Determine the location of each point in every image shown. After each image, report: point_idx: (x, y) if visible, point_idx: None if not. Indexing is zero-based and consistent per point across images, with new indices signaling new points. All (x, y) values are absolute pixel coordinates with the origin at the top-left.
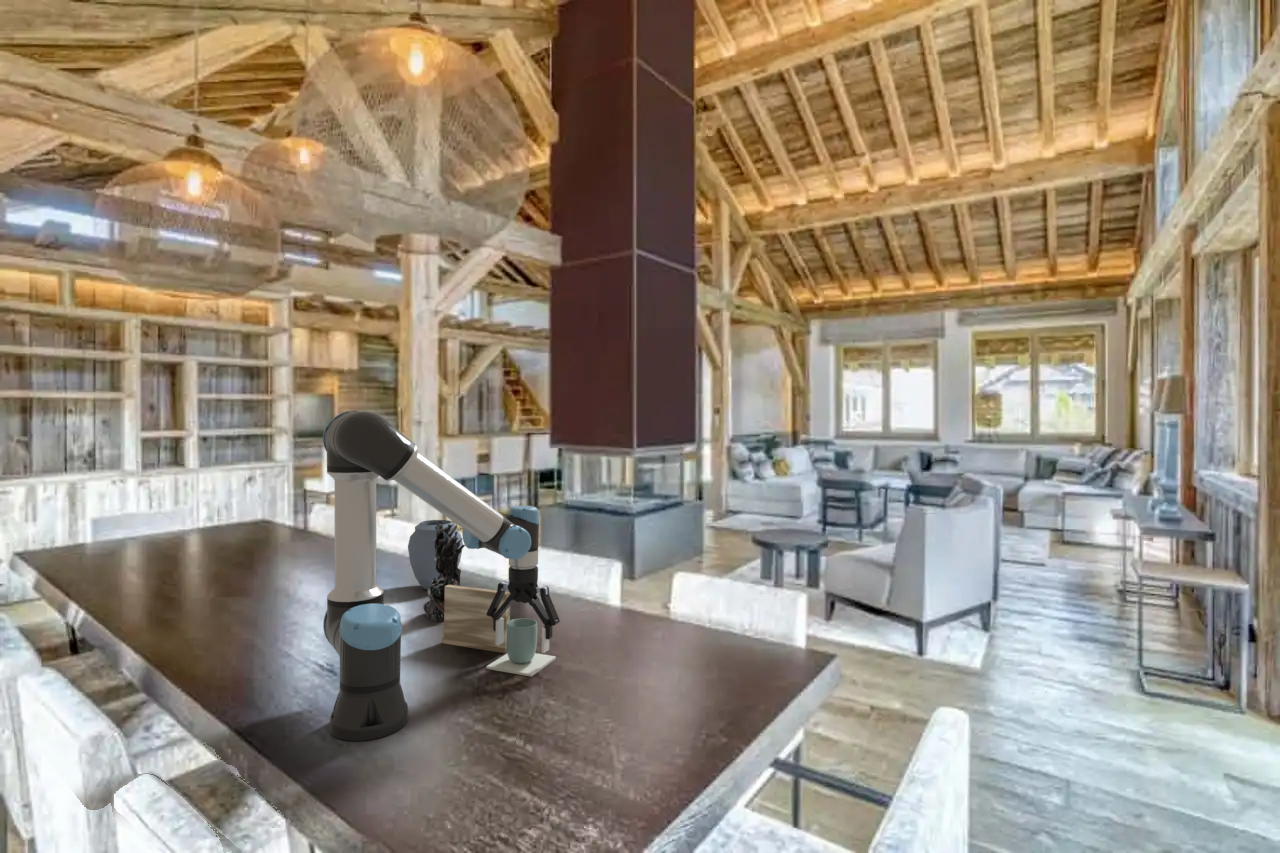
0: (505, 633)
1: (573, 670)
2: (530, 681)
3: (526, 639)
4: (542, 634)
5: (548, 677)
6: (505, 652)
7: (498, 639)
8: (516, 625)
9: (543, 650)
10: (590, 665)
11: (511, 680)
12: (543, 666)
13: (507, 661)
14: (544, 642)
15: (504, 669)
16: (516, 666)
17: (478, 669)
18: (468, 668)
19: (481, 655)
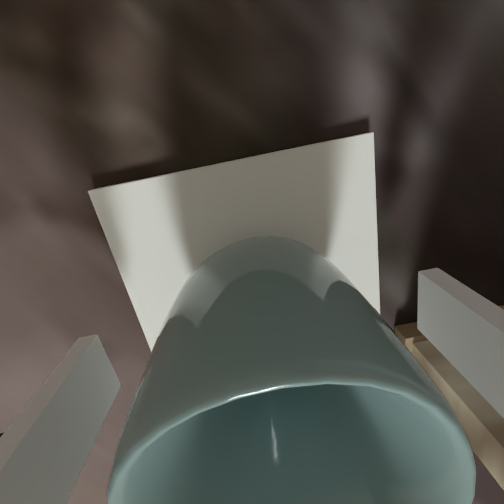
0: (467, 403)
1: (13, 349)
2: (44, 136)
3: (157, 344)
4: (9, 451)
5: (23, 231)
6: (399, 328)
7: (444, 296)
8: (385, 469)
9: (75, 347)
10: (10, 416)
11: (135, 82)
12: (135, 304)
13: (315, 248)
14: (38, 393)
15: (256, 157)
16: (231, 226)
17: (401, 99)
18: (461, 76)
19: (488, 252)
